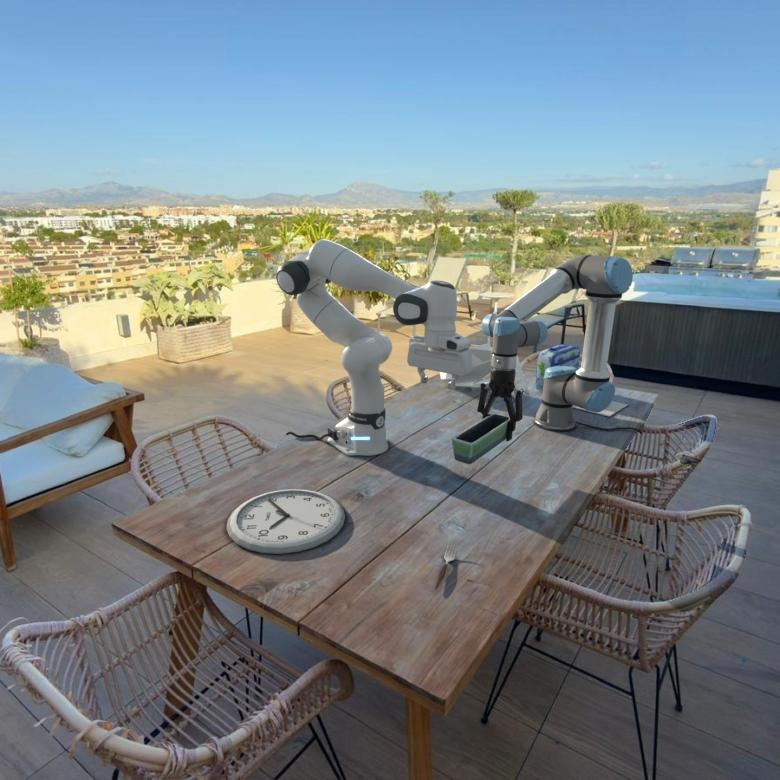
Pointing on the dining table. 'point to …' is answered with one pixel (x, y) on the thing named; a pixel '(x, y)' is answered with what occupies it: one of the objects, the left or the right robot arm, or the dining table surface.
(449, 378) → the white plastic object
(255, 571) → the dining table surface
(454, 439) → the planter
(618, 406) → the invitation card
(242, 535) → the wall clock
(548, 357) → the lunch box
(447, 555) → the fork
